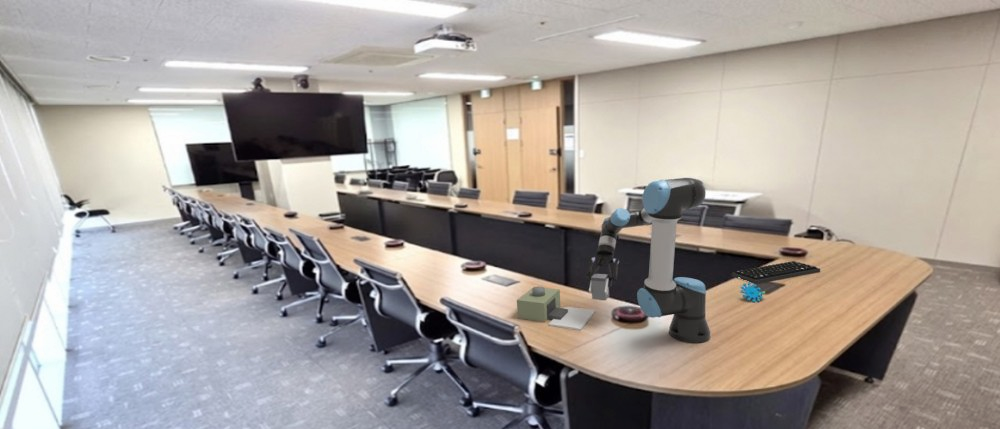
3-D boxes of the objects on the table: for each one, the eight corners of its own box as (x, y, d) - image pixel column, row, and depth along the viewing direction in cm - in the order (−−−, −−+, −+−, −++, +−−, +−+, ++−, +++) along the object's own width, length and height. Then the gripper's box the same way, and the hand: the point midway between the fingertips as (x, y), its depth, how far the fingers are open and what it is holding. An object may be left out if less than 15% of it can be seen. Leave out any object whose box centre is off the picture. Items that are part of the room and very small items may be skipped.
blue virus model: (743, 299, 196) (739, 281, 201) (738, 305, 200) (734, 286, 206) (768, 302, 195) (763, 283, 200) (762, 307, 199) (757, 288, 205)
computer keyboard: (755, 285, 220) (755, 278, 219) (731, 277, 235) (731, 270, 234) (820, 273, 232) (820, 266, 231) (793, 266, 247) (793, 260, 246)
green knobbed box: (595, 311, 199) (594, 287, 197) (580, 330, 179) (579, 303, 177) (535, 303, 215) (533, 281, 213) (515, 320, 195) (513, 296, 193)
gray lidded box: (609, 296, 185) (608, 274, 184) (605, 300, 180) (604, 278, 178) (595, 294, 188) (594, 273, 187) (591, 299, 183) (590, 277, 182)
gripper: (628, 253, 190) (622, 298, 178) (588, 251, 200) (579, 294, 188) (626, 244, 185) (618, 290, 173) (584, 242, 194) (574, 286, 182)
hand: (598, 292), depth 180 cm, fingers closed on gray lidded box, 6 cm apart
